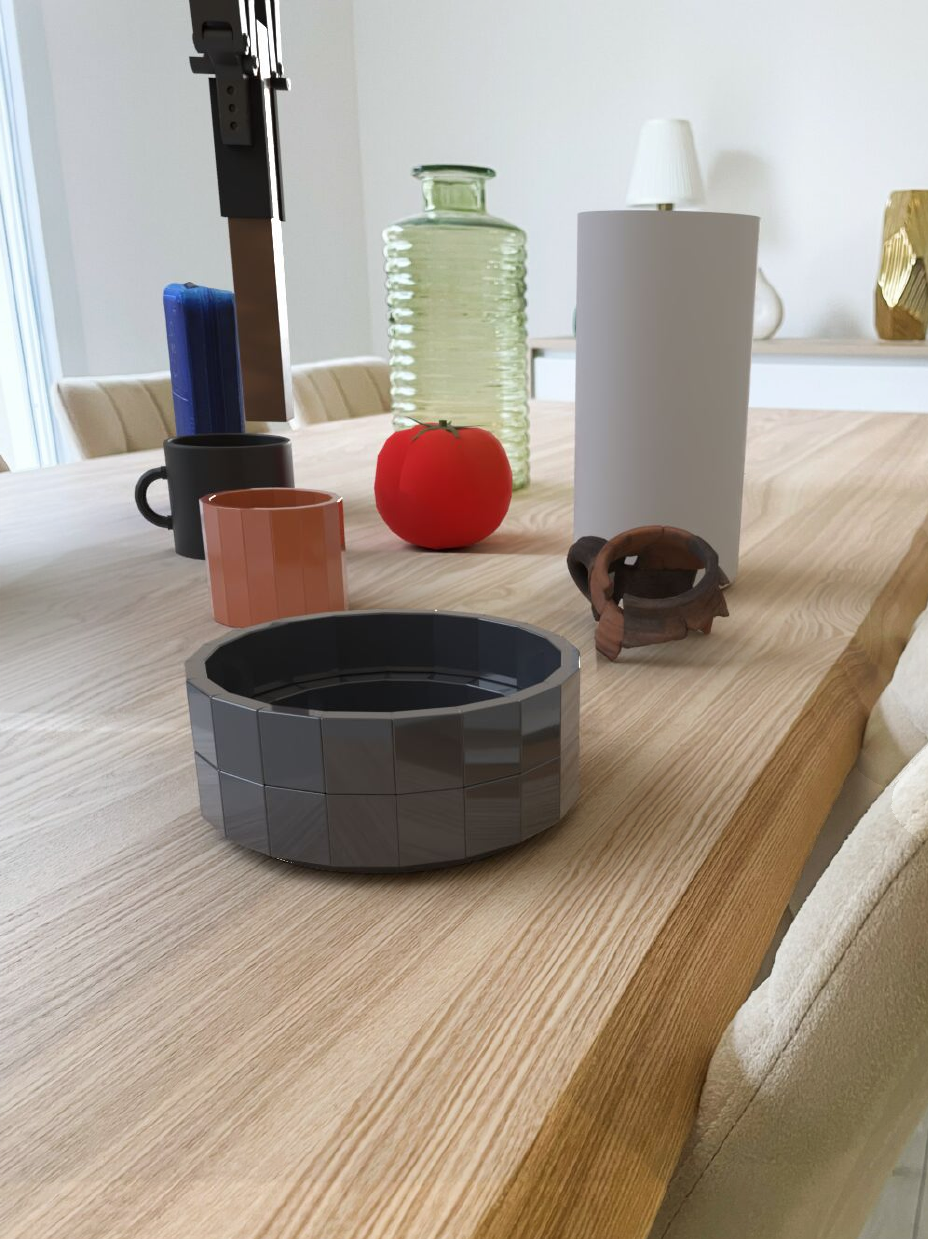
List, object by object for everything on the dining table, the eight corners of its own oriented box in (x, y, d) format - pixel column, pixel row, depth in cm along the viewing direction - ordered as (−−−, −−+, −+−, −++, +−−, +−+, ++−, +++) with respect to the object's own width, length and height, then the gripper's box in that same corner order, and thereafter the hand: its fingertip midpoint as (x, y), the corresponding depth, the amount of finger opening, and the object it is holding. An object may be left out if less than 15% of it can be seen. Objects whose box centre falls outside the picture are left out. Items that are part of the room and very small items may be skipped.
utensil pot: (197, 641, 74) (182, 508, 70) (232, 607, 81) (220, 486, 78) (336, 643, 74) (327, 510, 71) (358, 610, 82) (351, 489, 78)
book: (177, 501, 120) (153, 281, 112) (233, 499, 122) (212, 282, 114) (198, 526, 108) (172, 282, 100) (259, 523, 110) (238, 284, 102)
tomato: (371, 533, 107) (364, 411, 102) (499, 530, 109) (498, 411, 105) (385, 561, 96) (378, 426, 92) (526, 557, 99) (526, 426, 95)
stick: (245, 421, 70) (209, 16, 62) (254, 417, 72) (221, 25, 64) (286, 422, 70) (256, 18, 62) (294, 418, 72) (266, 27, 65)
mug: (153, 547, 99) (139, 432, 95) (303, 545, 101) (295, 433, 97) (131, 572, 90) (115, 447, 87) (296, 570, 92) (286, 447, 89)
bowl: (150, 885, 44) (127, 715, 41) (253, 738, 58) (240, 605, 56) (579, 888, 44) (582, 721, 42) (576, 742, 59) (578, 611, 56)
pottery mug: (756, 645, 78) (764, 546, 71) (671, 738, 73) (670, 642, 67) (608, 571, 82) (602, 473, 76) (519, 655, 78) (504, 558, 71)
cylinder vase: (765, 577, 94) (792, 220, 84) (684, 607, 84) (704, 209, 74) (629, 556, 100) (639, 221, 90) (540, 582, 91) (540, 211, 81)
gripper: (252, -407, 51) (295, 213, 60) (318, -256, 65) (344, 227, 74) (71, -417, 51) (142, 208, 60) (176, -263, 65) (220, 223, 74)
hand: (254, 218), depth 67 cm, fingers closed on stick, 2 cm apart
